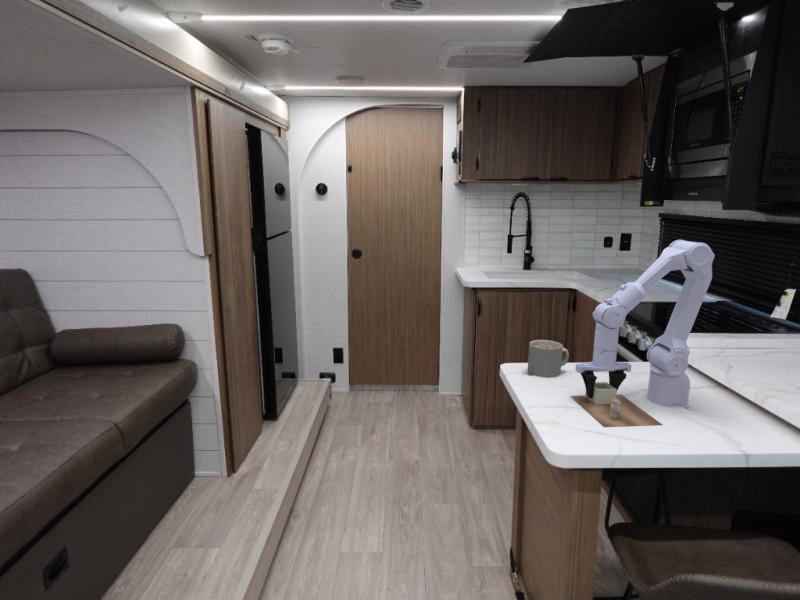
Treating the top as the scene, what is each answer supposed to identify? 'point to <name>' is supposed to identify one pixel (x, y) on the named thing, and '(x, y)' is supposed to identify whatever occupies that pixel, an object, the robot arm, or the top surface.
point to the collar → (603, 393)
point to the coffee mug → (546, 358)
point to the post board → (624, 416)
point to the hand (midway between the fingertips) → (600, 396)
